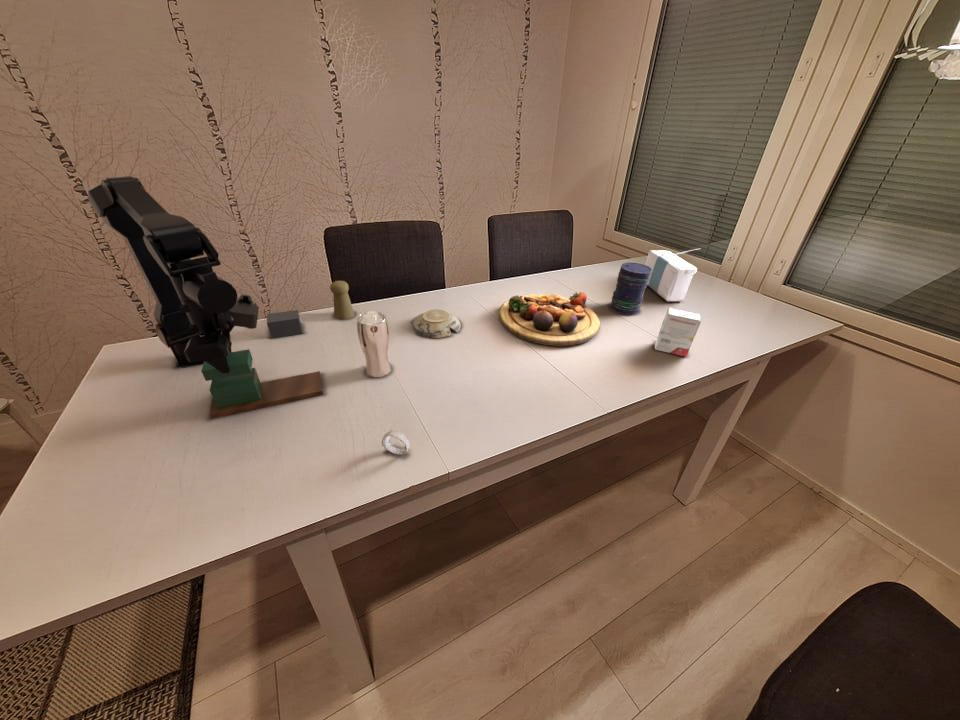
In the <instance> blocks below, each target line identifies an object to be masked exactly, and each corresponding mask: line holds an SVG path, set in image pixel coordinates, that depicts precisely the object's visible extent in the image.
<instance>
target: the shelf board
mask: <svg viewBox="0 0 960 720" xmlns="http://www.w3.org/2000/svg"><path fill="white" fill-rule="evenodd" d="M260 382H261V381H260ZM322 382H323V381H322V376H321V372H320V370H318V371H313V372H309V373H302V374H297V375H293V376H292V375H291V376H287V377H282V378H277V379H272V380H266V381H262V382H261V385H262V386H261V400H258V401H253V402H248V403H243V404H239V405H234V406H229V407H224V408H219V409H218V408H217V405H216V403H215V401H214V399H213V397H212V399H211V403H210V408H209V412H208V416H209V418H210V419H216V418H221V417H225V416H230V415H235V414H239V413H244V412H249V411H253V410H258V409H263V408H267V407H272V406H277V405H281V404H285V403H290V402H295V401H300V400H304V399H309V398H314V397H318V396H323V395H324V387H323V383H322Z"/></svg>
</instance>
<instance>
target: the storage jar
mask: <svg viewBox="0 0 960 720" xmlns="http://www.w3.org/2000/svg"><path fill="white" fill-rule="evenodd" d="M651 271H652V269H651V268H650V267H648V266H646V265H645V264H643V263H638V262H624V263H622V264H621V265H620V269H619V272H618V274H617V278H616V286H615V290H614V291H613V293H612V296H611V302H610V305H609V308H610V309H611V310H612V311H613V312H614V313H615V312H616V313H617V314H620V315H625V316H635V315H636V314H639V312H640V308H641V306H642V304H643V301H644V294H645V290H646V288H648V282H649V279H650V274H651Z"/></svg>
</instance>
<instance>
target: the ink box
mask: <svg viewBox="0 0 960 720" xmlns="http://www.w3.org/2000/svg"><path fill="white" fill-rule="evenodd" d="M701 323H702V317H701V314H699V313H695V312H690V311H685V310H680V309H676V308H672V307H668V308H667V310H666V313H665V314H664V318H663V321H662V324H661V327H660V329H659V332H658V335H657V336H656V337H657V338H656V341H655V343H654V349H655V351H661V352H664V353H669V354H673V355H677V356H680V357H687V356H688V354H689V351H690V348H691V346H692V344H693V341H694V339H695V337H696V334H697V332H698V330H699V327H700V325H701Z"/></svg>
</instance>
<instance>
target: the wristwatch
mask: <svg viewBox="0 0 960 720" xmlns="http://www.w3.org/2000/svg"><path fill="white" fill-rule="evenodd" d="M392 437H393V438H395V439H397V440H399V441H400V442H402V443H403V444H404V448H397V447H395V446H394V445H393V444H391V442H390V439H391V438H392ZM381 446H382V447H383V448H384V449H386V450H387V451H388V452H390V453H391V454H392V455H393V454H394V455H396V456H397V455H398V456H403V455H406V454H407V453H408V451H409V449H410V447H411V442H410V439H409V437H408V436H406V435H405V434H403V433H402V432H400V431H398V430H389V431H387V432H386V433H385V434H384V435H383V437H382V440H381Z"/></svg>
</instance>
